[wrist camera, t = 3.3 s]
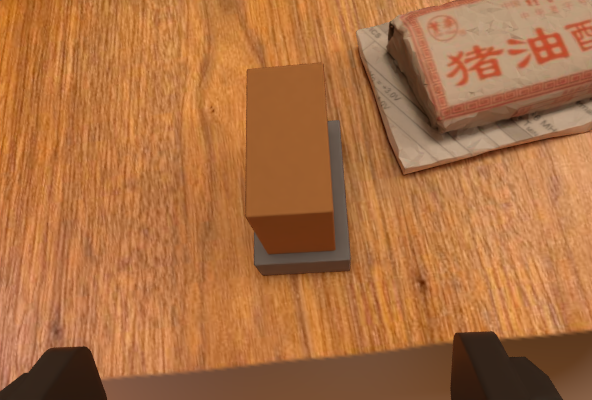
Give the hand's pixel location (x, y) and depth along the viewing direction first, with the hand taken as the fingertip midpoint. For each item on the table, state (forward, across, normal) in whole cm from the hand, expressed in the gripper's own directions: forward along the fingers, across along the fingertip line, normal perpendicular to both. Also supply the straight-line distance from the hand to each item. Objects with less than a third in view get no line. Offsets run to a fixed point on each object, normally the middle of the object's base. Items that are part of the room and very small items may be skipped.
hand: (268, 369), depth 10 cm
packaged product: (+22, -14, -2) cm, 25 cm away
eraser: (+16, 0, +3) cm, 16 cm away
